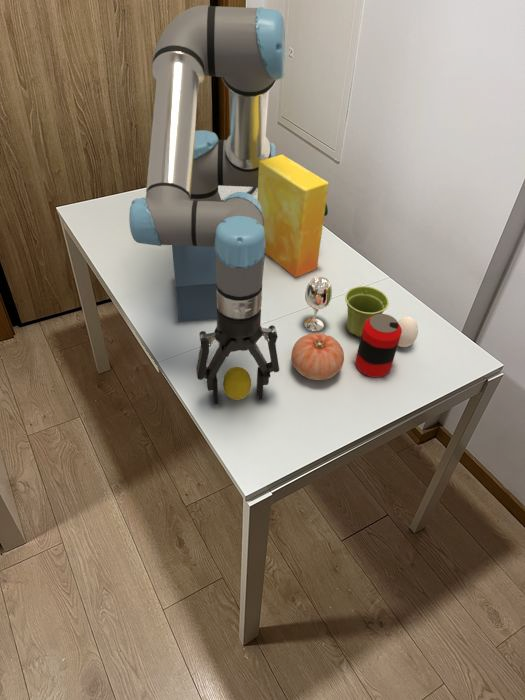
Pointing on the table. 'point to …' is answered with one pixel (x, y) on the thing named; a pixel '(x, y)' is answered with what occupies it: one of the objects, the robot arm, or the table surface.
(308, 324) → the wineglass
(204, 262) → the lid
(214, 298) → the blue-grey hollow box
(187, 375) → the table surface
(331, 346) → the orange pumpkin
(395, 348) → the soda can
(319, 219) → the mottled yellow carton
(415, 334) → the egg
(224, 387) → the lemon
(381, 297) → the plant pot
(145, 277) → the table surface
